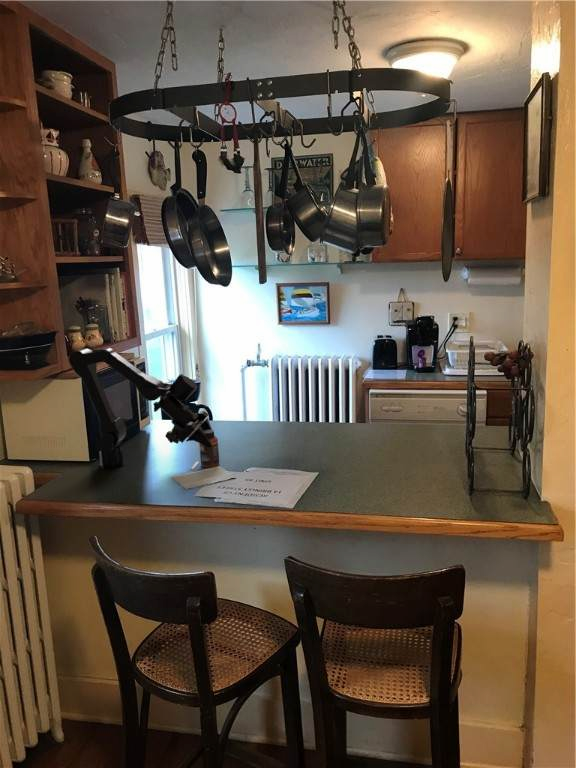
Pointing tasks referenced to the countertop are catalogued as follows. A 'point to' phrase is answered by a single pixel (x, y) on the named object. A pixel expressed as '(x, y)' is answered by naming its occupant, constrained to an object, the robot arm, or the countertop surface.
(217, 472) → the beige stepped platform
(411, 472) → the countertop surface
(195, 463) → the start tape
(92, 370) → the robot arm
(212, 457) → the supplement bottle
